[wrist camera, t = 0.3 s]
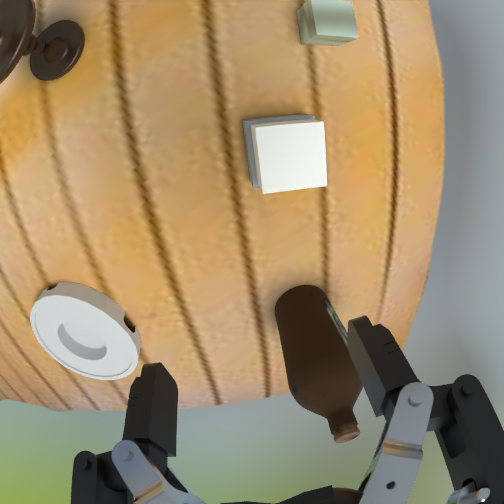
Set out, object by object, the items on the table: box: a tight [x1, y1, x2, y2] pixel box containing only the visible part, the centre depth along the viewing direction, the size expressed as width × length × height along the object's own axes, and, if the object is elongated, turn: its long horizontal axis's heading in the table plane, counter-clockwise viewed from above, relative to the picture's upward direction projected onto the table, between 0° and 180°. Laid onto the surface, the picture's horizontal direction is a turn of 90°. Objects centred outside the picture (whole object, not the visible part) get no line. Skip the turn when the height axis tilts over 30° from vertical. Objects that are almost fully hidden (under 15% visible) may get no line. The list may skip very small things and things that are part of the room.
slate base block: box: [242, 114, 315, 189], centre depth 32 cm, size 8×8×4 cm
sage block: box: [296, 0, 359, 46], centre depth 23 cm, size 5×5×6 cm
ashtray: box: [30, 282, 141, 380], centre depth 44 cm, size 23×23×4 cm
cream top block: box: [251, 119, 327, 194], centre depth 29 cm, size 7×7×4 cm
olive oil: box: [275, 285, 363, 443], centre depth 37 cm, size 11×11×25 cm
